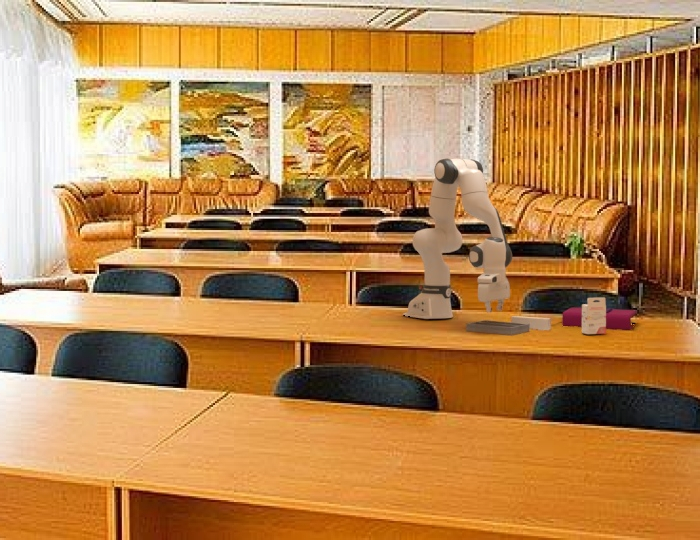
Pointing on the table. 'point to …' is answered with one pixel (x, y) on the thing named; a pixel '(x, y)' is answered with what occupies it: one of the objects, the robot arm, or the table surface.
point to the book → (613, 318)
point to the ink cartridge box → (594, 316)
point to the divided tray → (497, 327)
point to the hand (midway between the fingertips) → (494, 311)
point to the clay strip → (533, 322)
